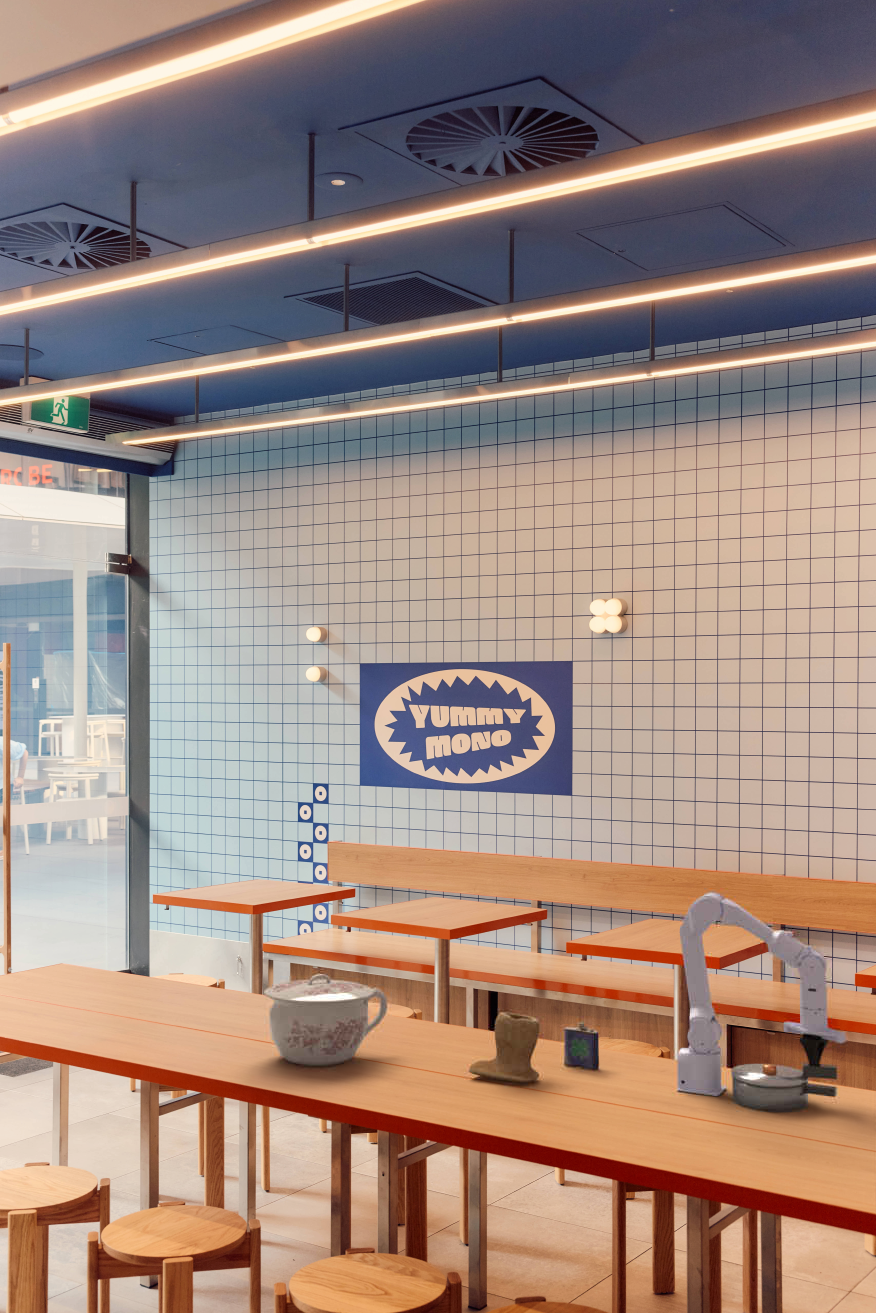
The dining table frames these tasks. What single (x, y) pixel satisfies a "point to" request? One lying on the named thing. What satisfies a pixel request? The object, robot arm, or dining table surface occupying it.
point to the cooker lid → (781, 1074)
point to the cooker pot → (777, 1096)
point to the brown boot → (511, 1049)
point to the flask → (581, 1047)
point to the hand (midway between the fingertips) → (814, 1070)
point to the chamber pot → (321, 1019)
